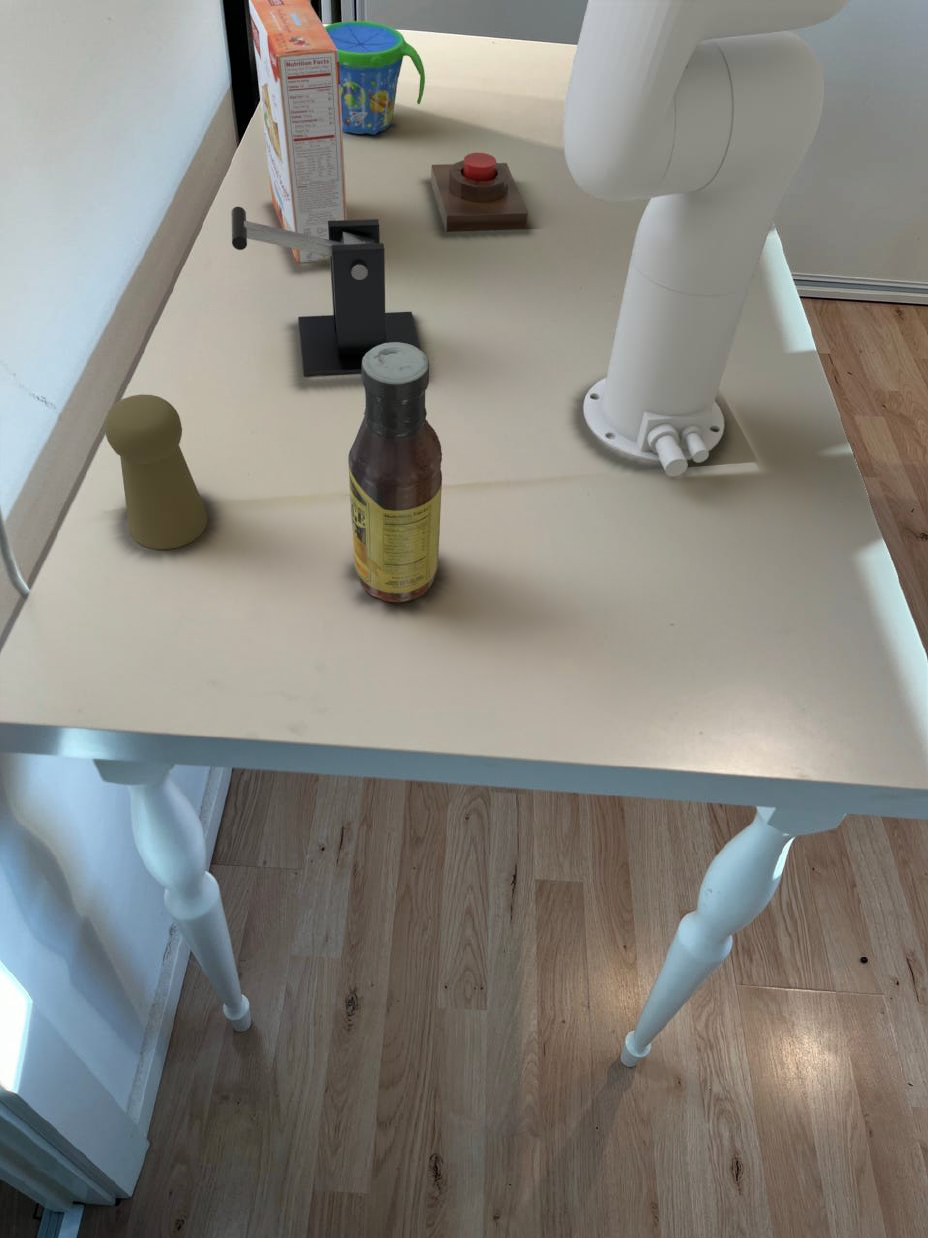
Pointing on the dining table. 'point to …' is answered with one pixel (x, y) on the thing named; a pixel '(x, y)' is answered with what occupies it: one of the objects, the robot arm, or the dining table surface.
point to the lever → (285, 236)
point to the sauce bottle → (395, 477)
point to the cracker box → (300, 117)
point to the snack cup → (370, 73)
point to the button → (479, 167)
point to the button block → (477, 200)
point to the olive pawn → (155, 473)
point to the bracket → (353, 307)
